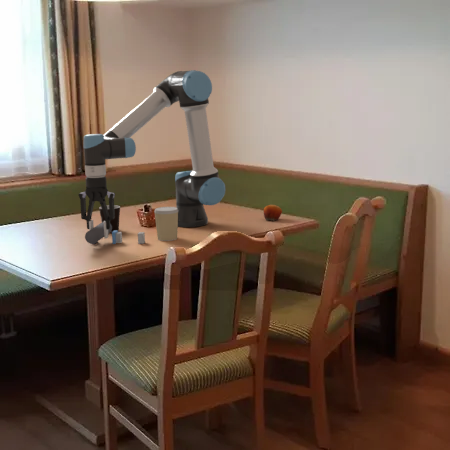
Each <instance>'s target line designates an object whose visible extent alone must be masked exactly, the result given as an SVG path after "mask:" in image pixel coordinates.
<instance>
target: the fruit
mask: <svg viewBox="0 0 450 450" xmlns="http://www.w3.org/2000/svg"><path fill="white" fill-rule="evenodd" d="M282 213H283V210H282V208H281V207H280V206H278V205H276V204H269V205H266V206H264V208H263V217H264V219H265V220H266V221H273V222H275V221H278V220H279V219H280V217H281V216H282Z"/></svg>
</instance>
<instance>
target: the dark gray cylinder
mask: <svg viewBox="0 0 450 450" xmlns="http://www.w3.org/2000/svg"><path fill="white" fill-rule="evenodd" d="M111 230H112V226H111V224H110V229H108V235H109V234H111V233H112V232H111ZM84 238H85V242H87V243H88V244H90V245H93V244H94V243H95V244H96V243H98V242H99V241H100V240H102V239H104V222H102V221H101V222H100V223H99V224H97V225H95V226H94V228H93V229H91V230H89V229H88V230H87V231H86V232H85V234H84Z"/></svg>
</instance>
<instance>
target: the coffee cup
mask: <svg viewBox="0 0 450 450" xmlns="http://www.w3.org/2000/svg"><path fill="white" fill-rule="evenodd" d="M154 220H155V228H156V235H157V237H156V238H157V240H158V241H161V242H170V241H171V242H172V241H177V239H178V233H179V232H178V230H179V229H178V227H179V226H178V209H177V208H176V206H160V207H156V208H155V209H154Z"/></svg>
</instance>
